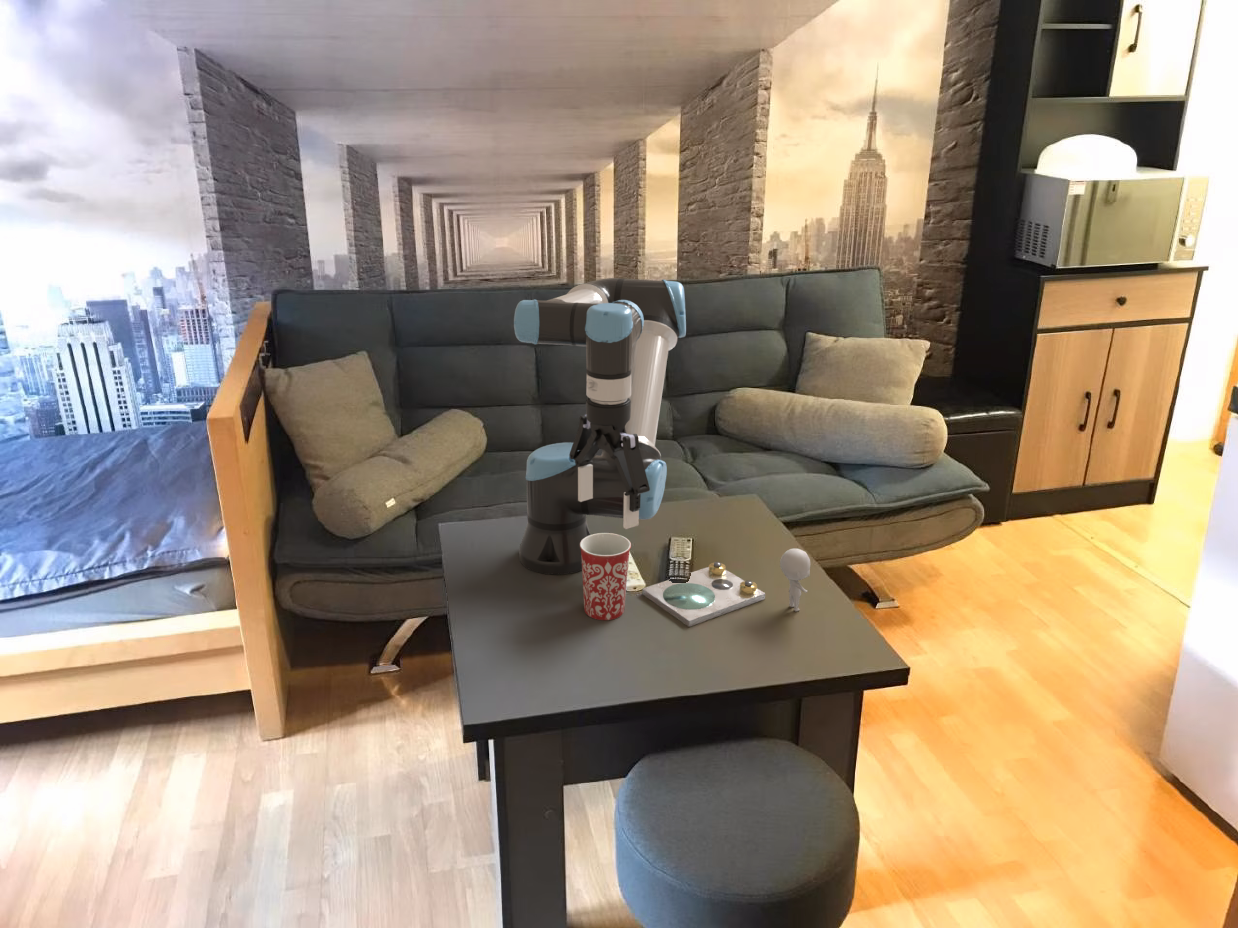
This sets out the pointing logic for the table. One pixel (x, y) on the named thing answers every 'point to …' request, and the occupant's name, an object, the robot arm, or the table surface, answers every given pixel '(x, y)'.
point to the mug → (604, 574)
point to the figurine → (795, 573)
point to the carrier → (704, 594)
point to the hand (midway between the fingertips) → (607, 512)
